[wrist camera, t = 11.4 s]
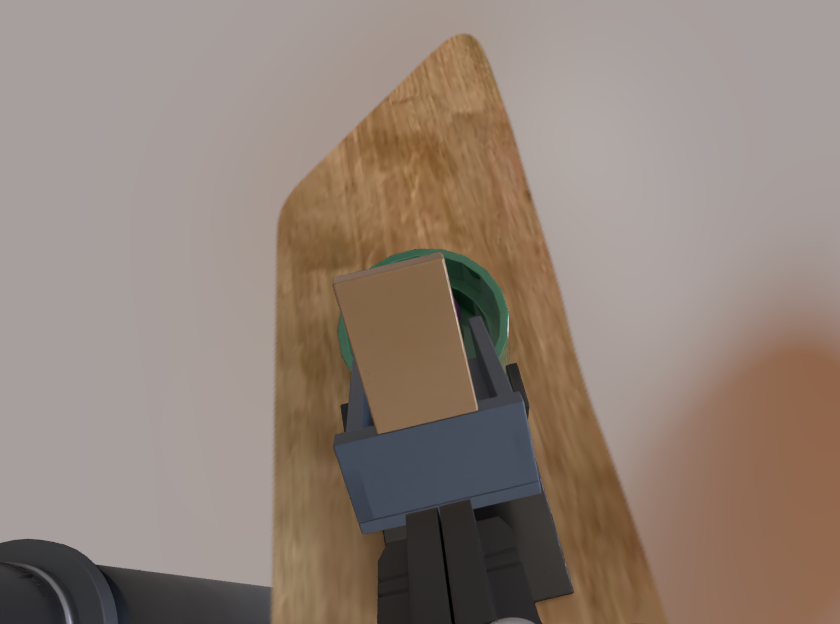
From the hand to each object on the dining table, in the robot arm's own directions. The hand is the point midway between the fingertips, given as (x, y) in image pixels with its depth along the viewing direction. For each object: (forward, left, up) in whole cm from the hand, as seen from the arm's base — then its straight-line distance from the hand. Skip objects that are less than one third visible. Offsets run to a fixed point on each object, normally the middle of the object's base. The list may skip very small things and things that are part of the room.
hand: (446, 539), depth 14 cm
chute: (+4, +3, -10) cm, 11 cm away
